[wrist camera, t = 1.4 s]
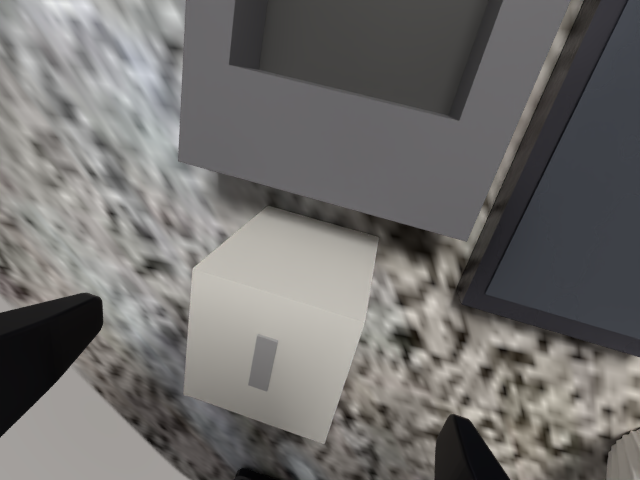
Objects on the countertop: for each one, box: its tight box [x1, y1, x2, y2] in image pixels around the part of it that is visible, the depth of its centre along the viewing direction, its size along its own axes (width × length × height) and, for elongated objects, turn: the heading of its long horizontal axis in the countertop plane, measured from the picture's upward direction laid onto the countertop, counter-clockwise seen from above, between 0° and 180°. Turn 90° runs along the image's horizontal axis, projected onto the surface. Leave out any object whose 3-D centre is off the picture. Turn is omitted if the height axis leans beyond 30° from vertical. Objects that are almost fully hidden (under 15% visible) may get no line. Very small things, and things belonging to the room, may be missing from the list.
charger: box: [183, 206, 379, 444], centre depth 11 cm, size 4×4×5 cm
